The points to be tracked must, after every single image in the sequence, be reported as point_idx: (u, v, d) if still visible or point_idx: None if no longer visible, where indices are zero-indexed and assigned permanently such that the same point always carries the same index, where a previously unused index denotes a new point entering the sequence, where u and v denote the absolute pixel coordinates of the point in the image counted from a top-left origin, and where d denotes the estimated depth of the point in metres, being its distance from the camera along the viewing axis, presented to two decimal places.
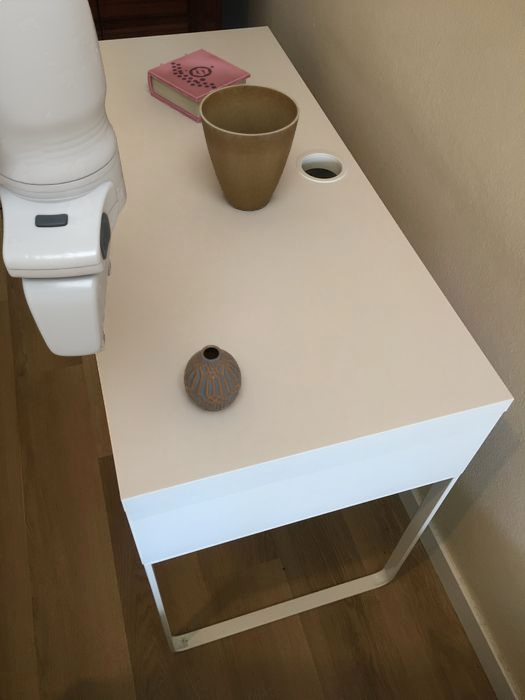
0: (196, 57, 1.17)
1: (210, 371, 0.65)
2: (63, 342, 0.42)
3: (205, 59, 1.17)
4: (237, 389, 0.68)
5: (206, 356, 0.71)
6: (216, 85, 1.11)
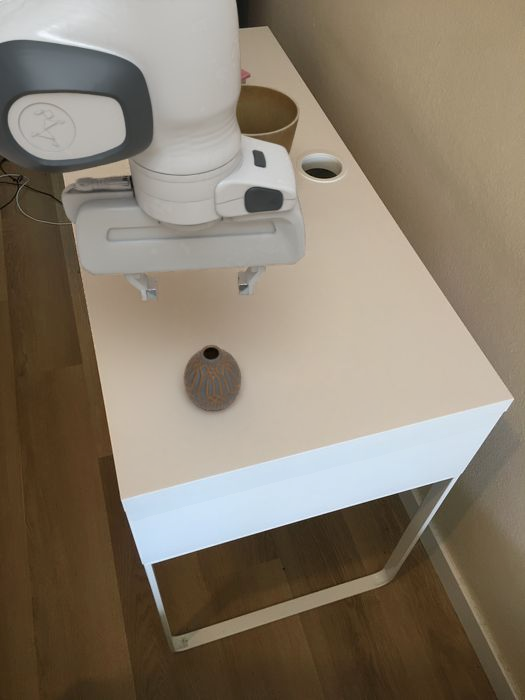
0: None
1: (210, 371, 0.65)
2: None
3: None
4: (237, 389, 0.68)
5: (206, 356, 0.71)
6: None
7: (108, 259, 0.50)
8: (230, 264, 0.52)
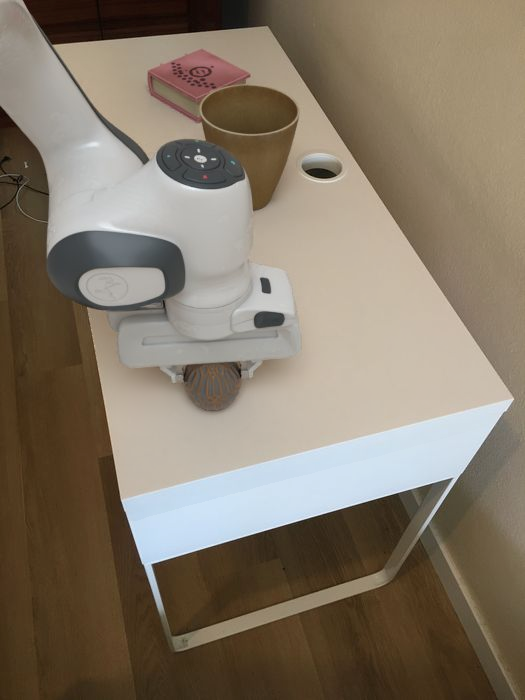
0: (196, 57, 1.17)
1: (210, 371, 0.65)
2: None
3: (205, 59, 1.17)
4: (237, 389, 0.68)
5: None
6: (216, 85, 1.11)
7: (142, 357, 0.62)
8: (240, 359, 0.64)
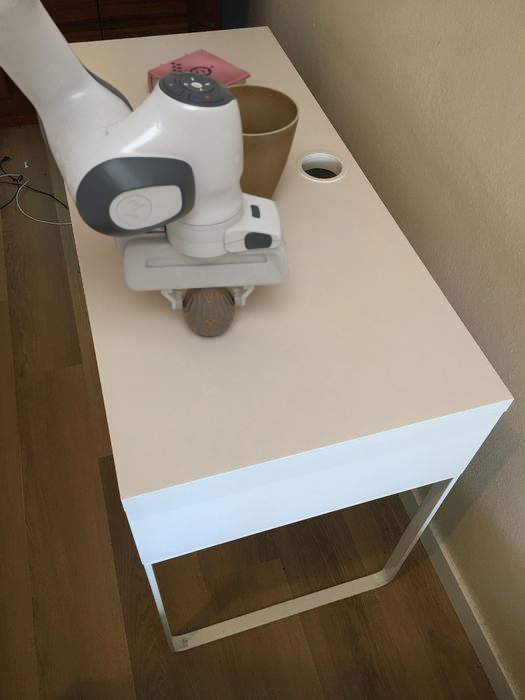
0: (196, 57, 1.17)
1: (206, 296, 0.72)
2: None
3: (205, 59, 1.17)
4: (231, 315, 0.75)
5: None
6: None
7: (145, 279, 0.69)
8: (233, 283, 0.71)
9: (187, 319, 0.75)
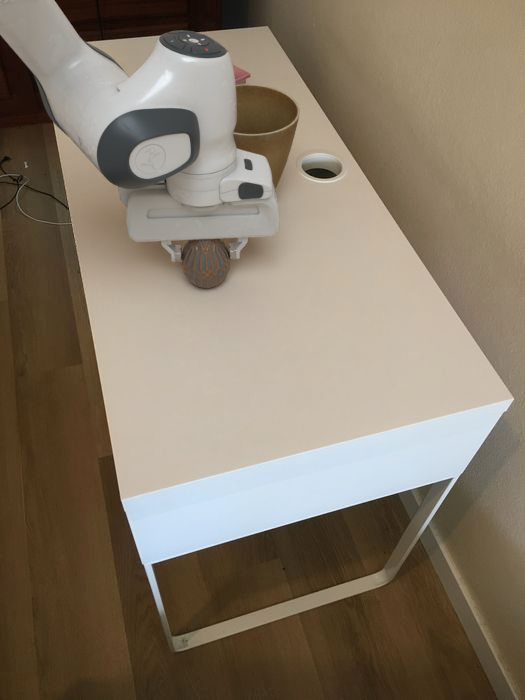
0: None
1: (203, 247, 0.78)
2: None
3: None
4: (226, 267, 0.81)
5: None
6: None
7: (146, 230, 0.75)
8: (228, 235, 0.77)
9: (185, 271, 0.81)
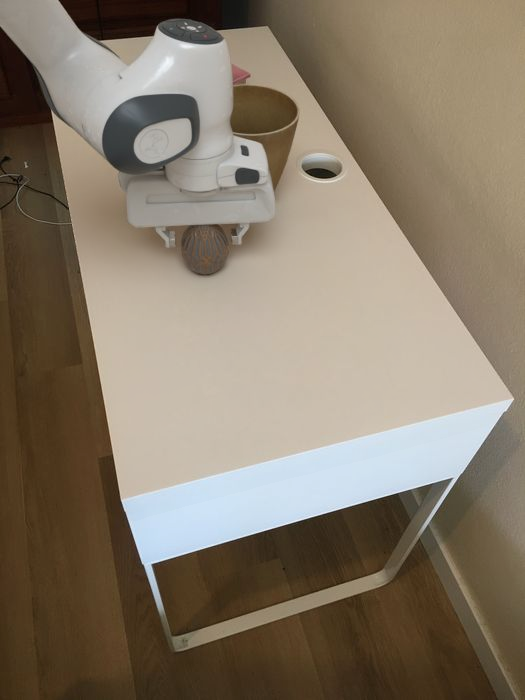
0: None
1: (202, 234, 0.80)
2: None
3: None
4: (225, 254, 0.83)
5: None
6: None
7: (146, 216, 0.77)
8: (225, 221, 0.79)
9: (185, 257, 0.83)
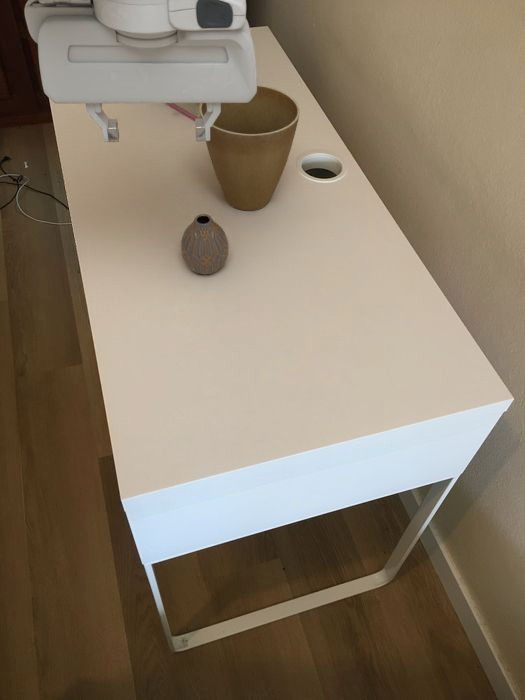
0: None
1: (202, 234, 0.80)
2: None
3: None
4: (225, 254, 0.83)
5: None
6: None
7: (69, 83, 0.53)
8: (186, 97, 0.55)
9: (185, 257, 0.83)
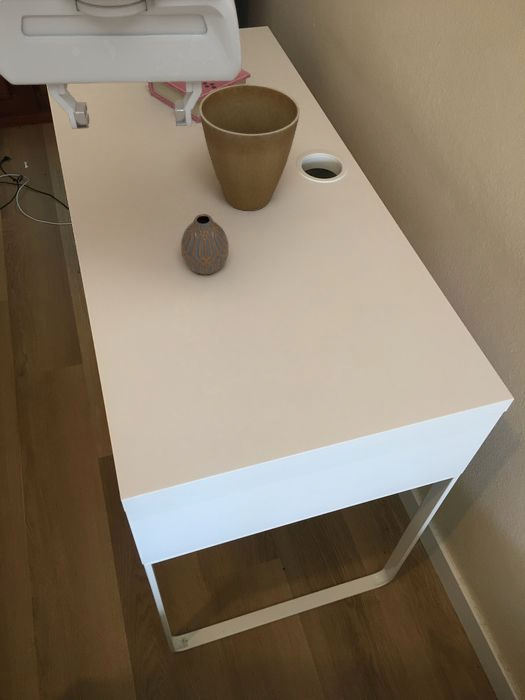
0: None
1: (202, 234, 0.80)
2: None
3: None
4: (225, 254, 0.83)
5: None
6: (216, 85, 1.11)
7: (26, 61, 0.46)
8: (161, 75, 0.48)
9: (185, 257, 0.83)
